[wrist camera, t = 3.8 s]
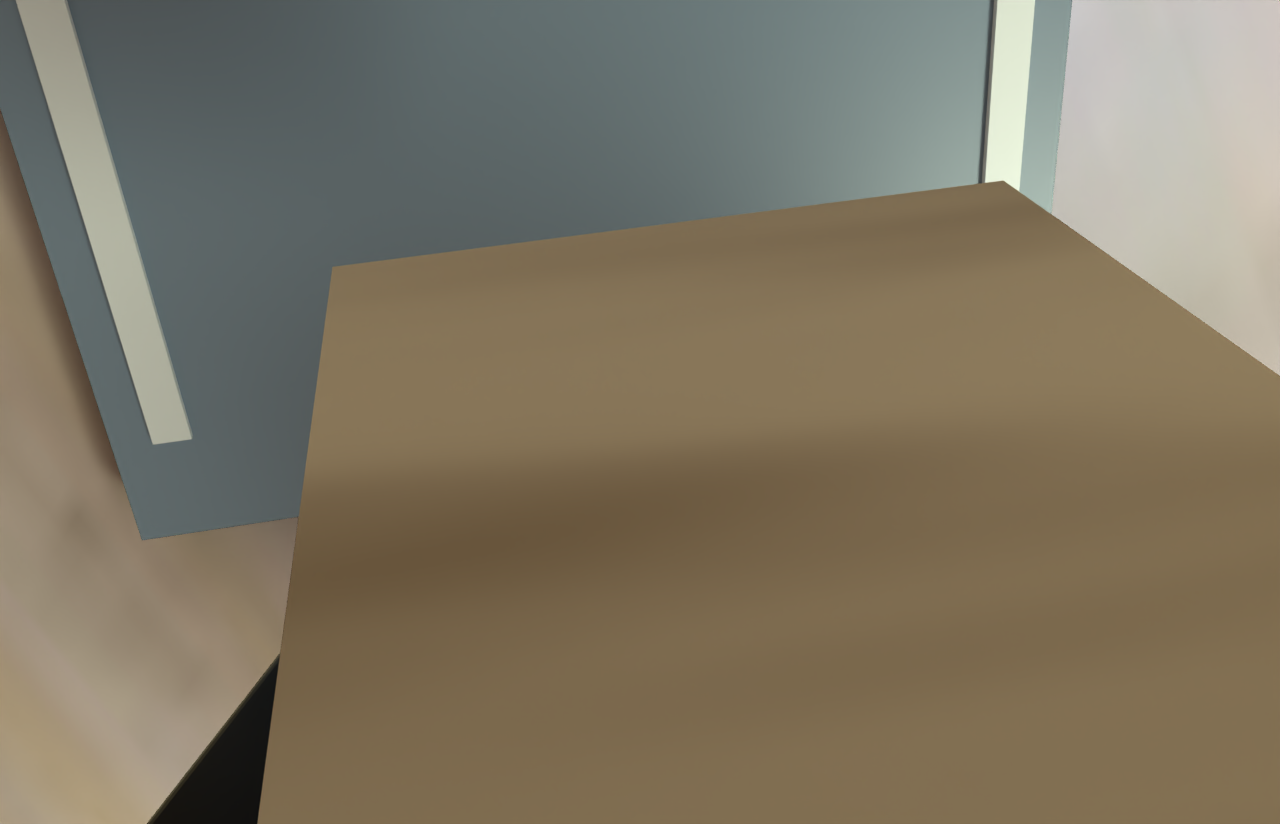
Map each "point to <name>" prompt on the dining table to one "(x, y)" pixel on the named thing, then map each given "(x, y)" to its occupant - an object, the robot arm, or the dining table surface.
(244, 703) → the robot arm
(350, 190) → the board
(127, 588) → the dining table surface
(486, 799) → the oak block
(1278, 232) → the dining table surface
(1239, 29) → the dining table surface
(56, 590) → the dining table surface
